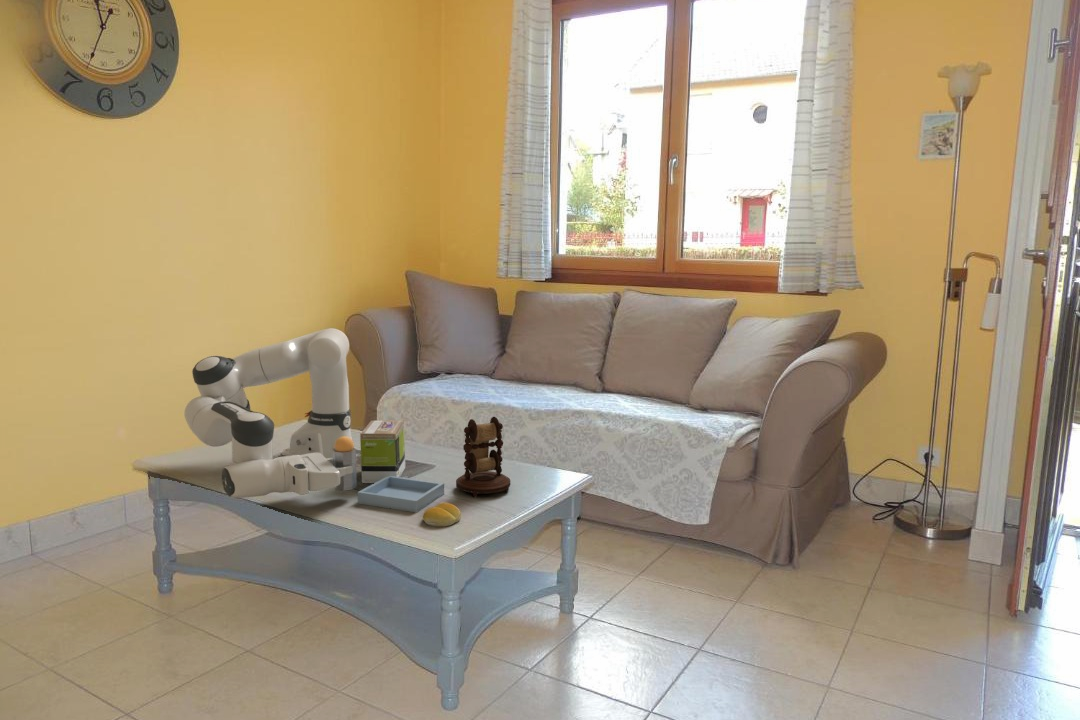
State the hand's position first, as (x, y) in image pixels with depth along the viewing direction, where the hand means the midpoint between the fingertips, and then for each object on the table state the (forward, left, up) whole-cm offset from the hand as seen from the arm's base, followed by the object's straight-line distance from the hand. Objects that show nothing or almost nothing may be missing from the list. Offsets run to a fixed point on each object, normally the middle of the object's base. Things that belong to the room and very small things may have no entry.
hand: (348, 465), depth 198 cm
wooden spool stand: (+29, +20, -9) cm, 37 cm away
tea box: (-2, +20, -9) cm, 22 cm away
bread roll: (+29, -4, -9) cm, 31 cm away
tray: (+13, +5, -9) cm, 16 cm away
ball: (-1, -1, +5) cm, 5 cm away
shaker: (-1, -1, -6) cm, 6 cm away
